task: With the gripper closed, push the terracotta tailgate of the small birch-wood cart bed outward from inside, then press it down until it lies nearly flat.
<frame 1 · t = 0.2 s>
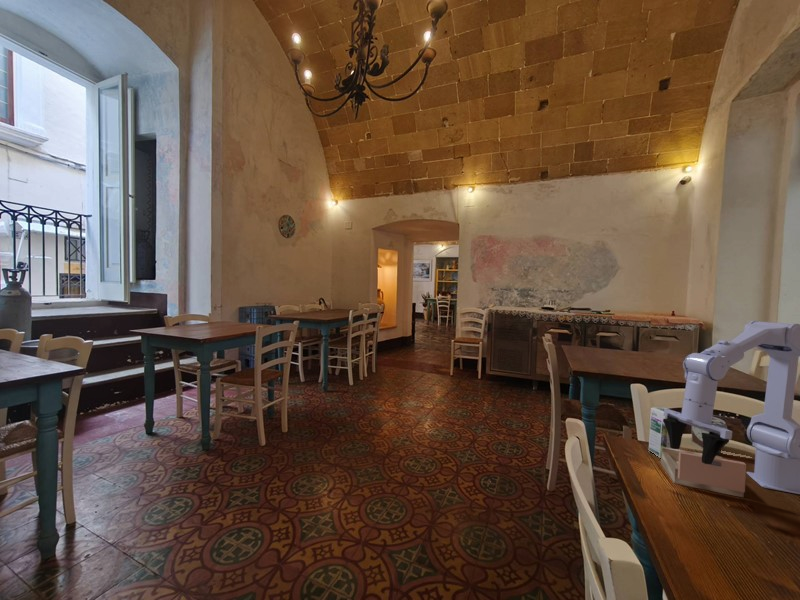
hand: (689, 455, 84), 10 cm above the table, tool pointing down, fingers open, 7 cm apart
cart bed: (698, 478, 93), on the table
food container: (711, 449, 112), on the table
tailgate: (711, 471, 86), point 6 cm above the table, hinge at 0.0°
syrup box: (663, 456, 106), on the table
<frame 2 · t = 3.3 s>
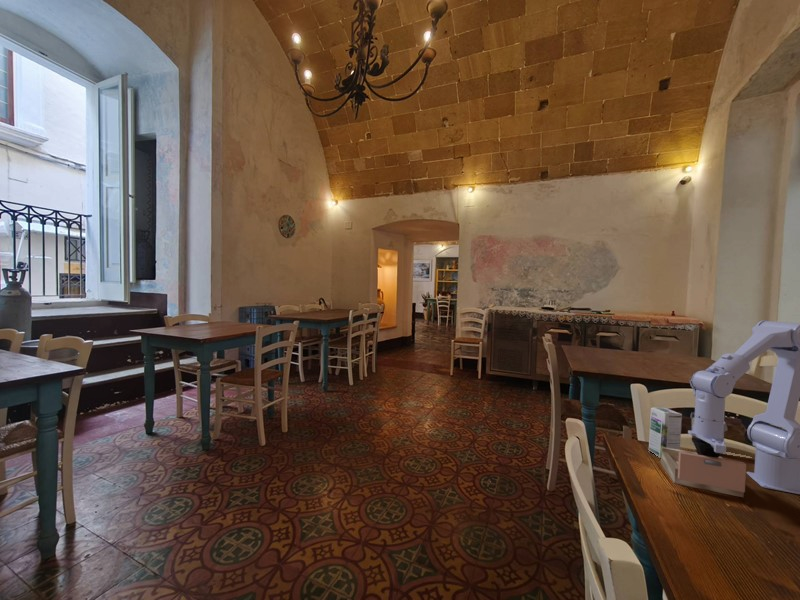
hand: (706, 468, 89), 5 cm above the table, tool pointing down, fingers closed
tailgate: (711, 471, 86), point 5 cm above the table, hinge at 0.0°, touching gripper
everything else where it was.
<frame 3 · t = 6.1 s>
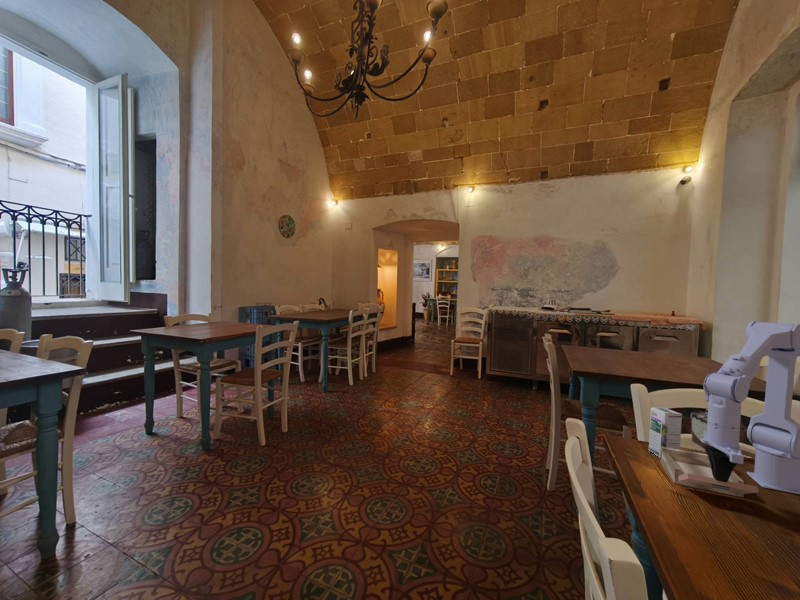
hand: (720, 479, 82), 6 cm above the table, tool pointing down, fingers closed
tailgate: (716, 485, 84), point 3 cm above the table, hinge at 58.7°, touching gripper
everything else where it was.
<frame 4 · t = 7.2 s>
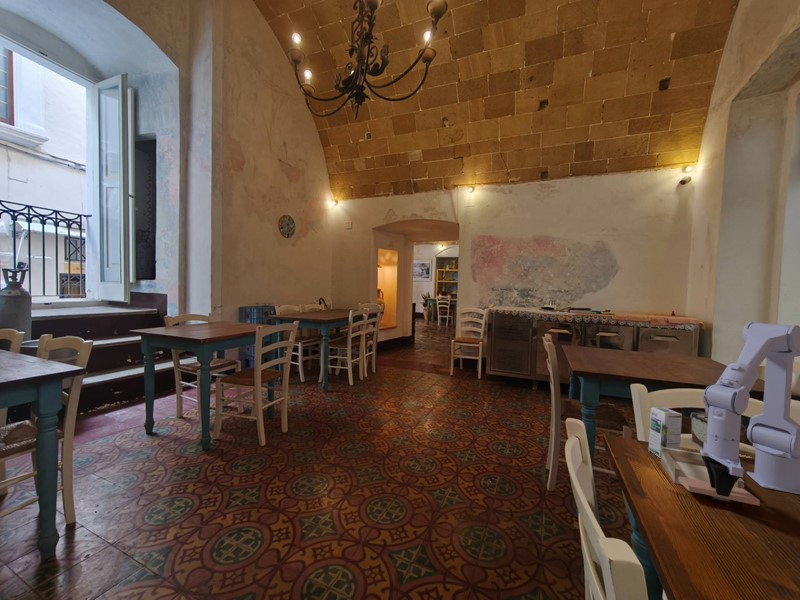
hand: (719, 491, 82), 3 cm above the table, tool pointing down, fingers closed, pressing on tailgate
tailgate: (716, 491, 83), point 2 cm above the table, hinge at 81.9°, touching gripper
everything else where it was.
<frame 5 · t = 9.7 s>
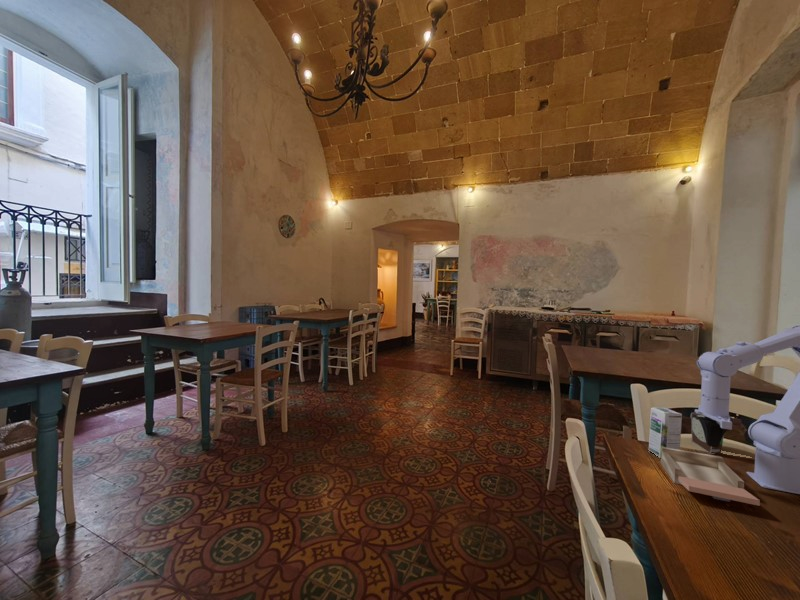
hand: (712, 445, 93), 9 cm above the table, tool pointing down, fingers closed
tailgate: (716, 491, 83), point 2 cm above the table, hinge at 82.0°
everything else where it was.
at the end: tailgate at +82° (first picture: +0°); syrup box moved 0.2 cm from its start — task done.
